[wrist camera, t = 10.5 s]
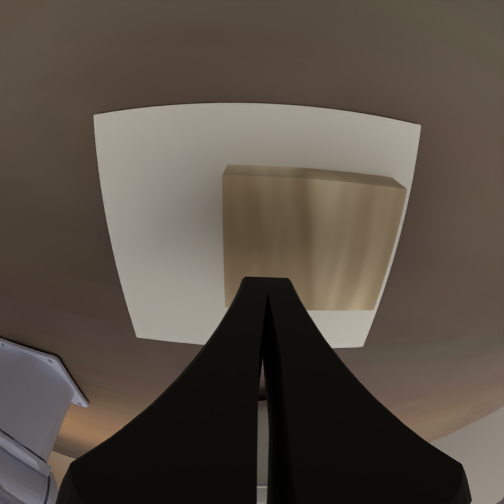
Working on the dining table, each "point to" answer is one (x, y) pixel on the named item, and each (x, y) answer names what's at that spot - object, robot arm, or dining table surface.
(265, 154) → the mat
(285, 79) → the dining table surface
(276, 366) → the robot arm
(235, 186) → the wooden block
